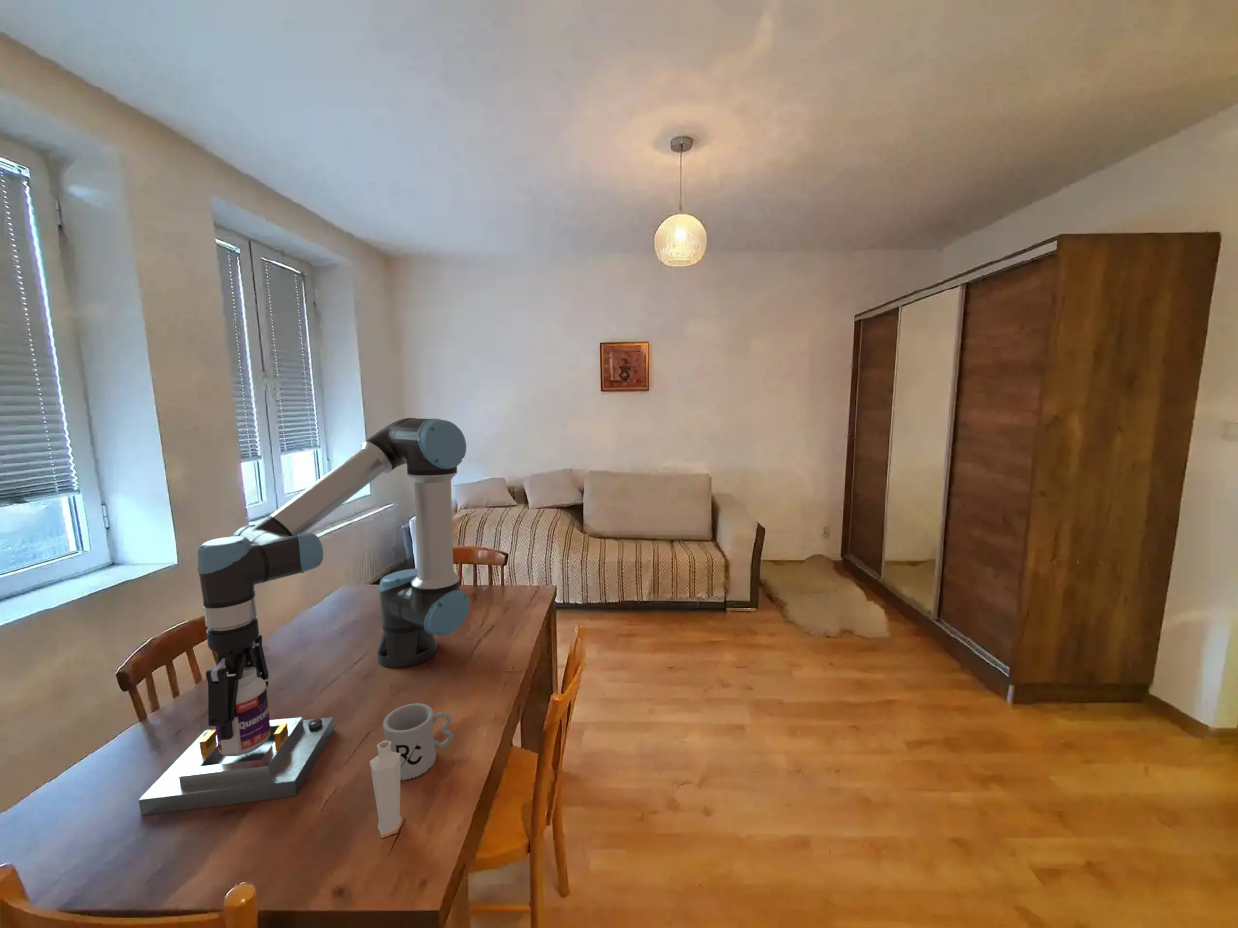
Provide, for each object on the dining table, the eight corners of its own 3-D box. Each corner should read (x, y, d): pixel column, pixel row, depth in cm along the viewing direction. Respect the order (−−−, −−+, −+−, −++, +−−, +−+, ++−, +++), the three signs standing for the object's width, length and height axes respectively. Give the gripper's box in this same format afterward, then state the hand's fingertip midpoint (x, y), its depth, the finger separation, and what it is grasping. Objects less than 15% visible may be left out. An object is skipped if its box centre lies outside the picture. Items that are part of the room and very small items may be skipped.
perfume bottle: (380, 817, 85) (374, 735, 83) (407, 815, 85) (401, 734, 83) (369, 841, 81) (362, 755, 79) (397, 839, 81) (391, 753, 79)
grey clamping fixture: (334, 730, 107) (331, 697, 106) (296, 795, 90) (292, 757, 89) (207, 743, 103) (202, 709, 102) (141, 815, 86) (135, 775, 84)
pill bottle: (243, 762, 91) (235, 688, 89) (207, 756, 93) (198, 683, 91) (281, 733, 99) (274, 664, 97) (247, 727, 100) (240, 660, 98)
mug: (386, 789, 91) (383, 738, 90) (384, 757, 99) (381, 710, 98) (457, 766, 97) (455, 718, 95) (449, 737, 105) (447, 693, 103)
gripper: (241, 600, 102) (252, 704, 105) (169, 652, 82) (186, 779, 85) (281, 598, 103) (292, 700, 106) (221, 648, 83) (236, 773, 86)
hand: (245, 735), depth 95 cm, fingers closed on pill bottle, 8 cm apart
